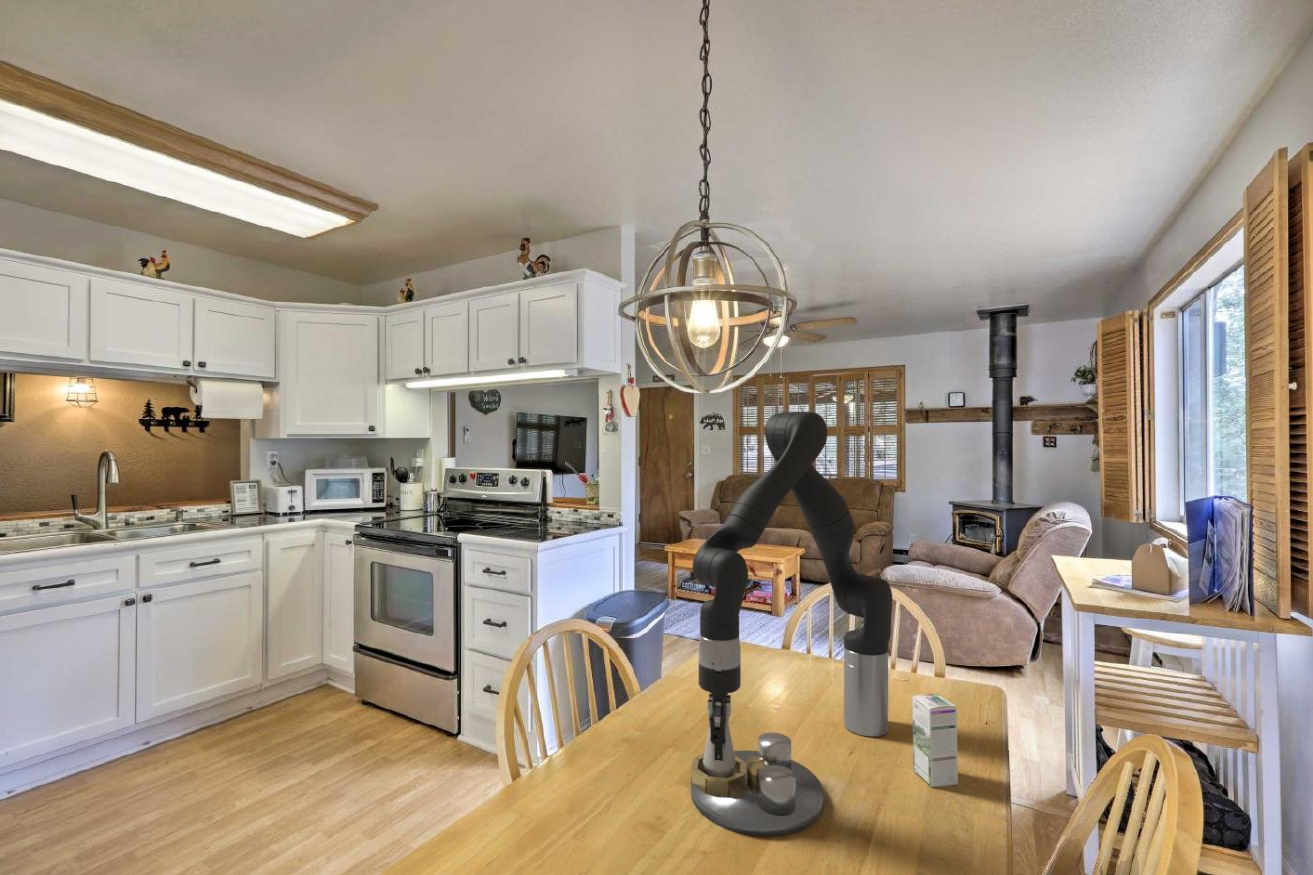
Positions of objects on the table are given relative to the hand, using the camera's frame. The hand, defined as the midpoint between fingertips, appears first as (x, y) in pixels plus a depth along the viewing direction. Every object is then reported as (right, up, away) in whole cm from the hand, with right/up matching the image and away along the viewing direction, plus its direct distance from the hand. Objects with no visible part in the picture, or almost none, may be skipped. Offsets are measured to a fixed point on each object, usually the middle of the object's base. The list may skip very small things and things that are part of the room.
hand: (719, 756), depth 108 cm
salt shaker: (0, -3, 0) cm, 3 cm away
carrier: (+6, -6, -1) cm, 9 cm away
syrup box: (+41, -7, +4) cm, 41 cm away
